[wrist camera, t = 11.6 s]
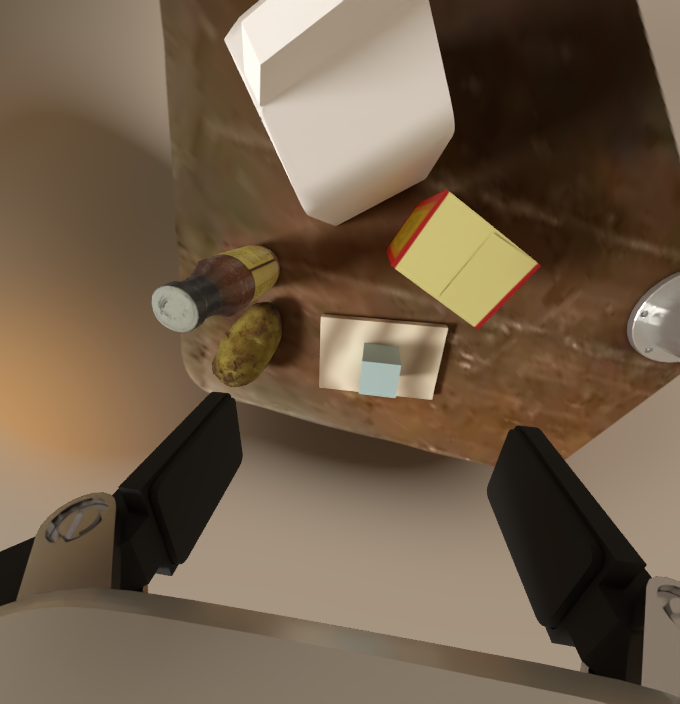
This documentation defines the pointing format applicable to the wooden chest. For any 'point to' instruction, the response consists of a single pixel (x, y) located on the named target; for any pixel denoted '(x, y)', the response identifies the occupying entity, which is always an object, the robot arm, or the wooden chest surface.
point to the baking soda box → (459, 258)
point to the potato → (248, 345)
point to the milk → (346, 96)
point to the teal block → (380, 370)
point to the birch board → (352, 332)
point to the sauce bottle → (216, 287)
